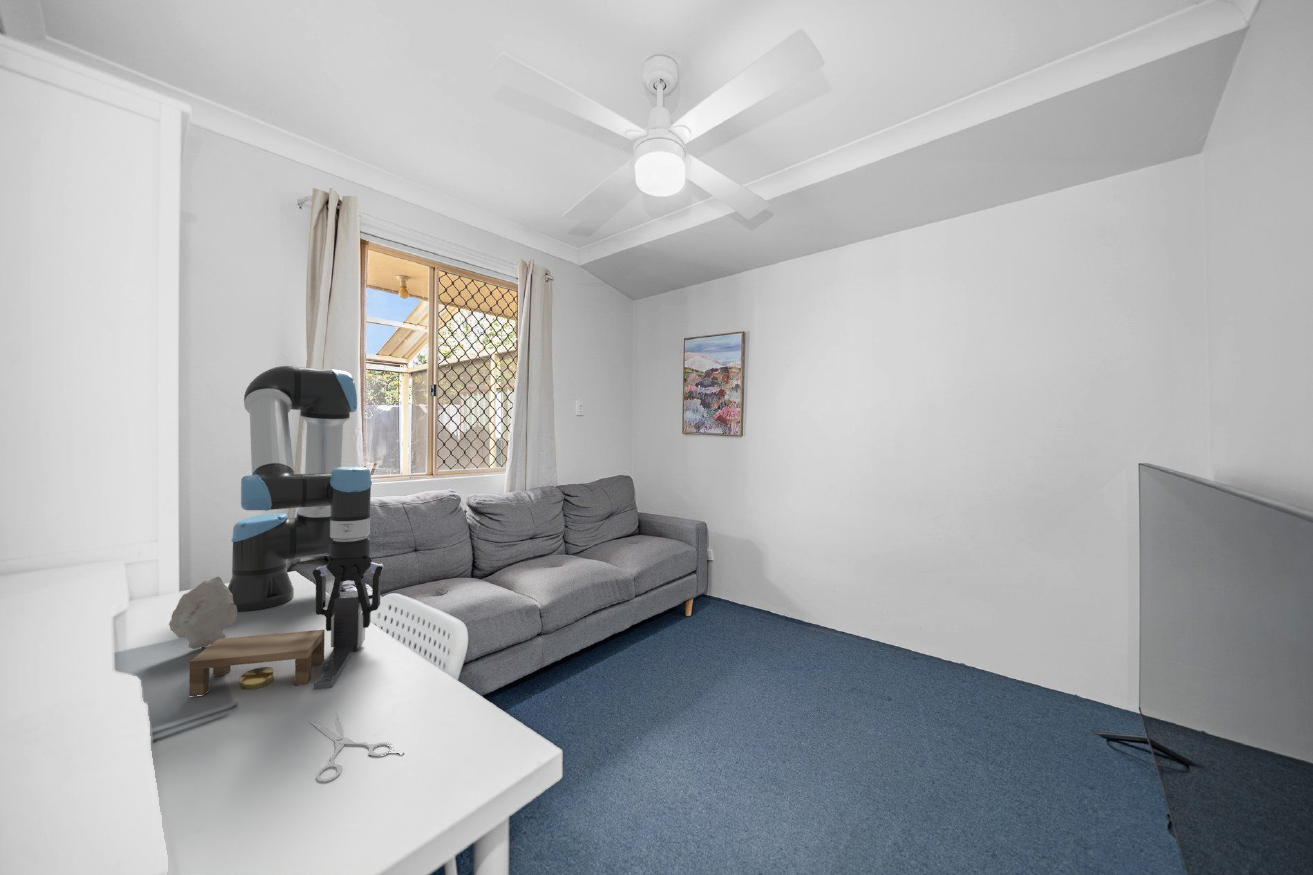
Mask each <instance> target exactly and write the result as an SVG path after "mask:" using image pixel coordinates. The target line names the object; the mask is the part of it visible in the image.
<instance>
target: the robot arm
mask: <svg viewBox="0 0 1313 875" xmlns="http://www.w3.org/2000/svg"><path fill="white" fill-rule="evenodd" d="M357 394H358V393H357V389H356V384H355V381H354V378H353V376H352V374H351V373H350V372H347V371H344V370H338V369H333V368H330V369H329V368H315V367H301V366H300V367H299V366H292V365H282V366H281V365H280V366H277V367H272V368H270V369H267V370H265V371H263V372H262V373H260V374H258V375H257V376H256V377H255V378H254V379H253V380H252V381H250V383H249V384H248V386H247V387H246V389H245V392H244V395H243V396H244V398H243V405H244V409H245V410H246V412H247V413H249V429H250V430H249V431H250V456H251V460H250V461H251V462H250V463H251V475H244V476H243V477H242V478H241V480H240V507H241V509H242V510H245V511H272V510H284V509H287V510H288V509H297V508H299V509H297V511H296V517H289V516H288V514H287V513H285V512H274V513H266V514H261V515H256V516H252V517H248V518H245V519H244V518H243V519H242V520H239V521H238V522H236V523H235V524H234V526H233V529H232V538H231V542H232V557H231V558H232V559H231V560H232V562H231V566H232V567H231V570H232V571H231V578H230V581H229V583H228V585H227V588H228V589H229V590H230V592H231V593H232V594H233V602H234V604H233V605H236V607H237V612H239V611H240V612H241V611H243V612H244V611H254V610H262V609H268V608H271V607H274V606H279V605H282V604H284V603H287V602H289V601H290V600H292V599H293V598H294V594H295V593H294V592H295V591H294V590H295V589H294V586H293V583H292V581H291V577H290V575H289V573H288V570H287V561H290V560H298V559H299V560H300V559H305V558H307V559H308V558H316V557H328V556H329V557H328V558H329V559H328V561H327V562H326V564H325V565H323V566H318V567H317V566H316V568H315V569H314V570H313V571H312V575H313V578H314V580H315V614H316V616H317V615H318V616H319V615H321V616H324V617H325V631H327V632H330V648H333V641H334V598H335V597H337V596H338V595H339V594H340V592H342V588H343V584H344V582H347V581H350V582H354V585H355V587H356V591H357V592H358V595H359V600H360V604H361V608H362V611H361V613H360V614H359V633H358V645H361V646H362V645H363V643H364V641H365V640H366V629H367V628H369V626H370V625H371V613H372V612H374V611H377V610H378V609H379V607H380V605H381V591H382V589H381V588H382V587H381V586H382V573H383V571H384V568H385V564H384V563H382V562H380V563H376V562H373V560H372V559H371V557H370V553H371V552H370V551H371V550H370V548H371V547H370V546H371V545H370V544H371V542H370V541H371V539H370V537H369V535H370V534H371V497H372V496H371V495H372V494H371V493H372V482H373V481H372V476H371V475H372V473H371V470H370V468H368V467H365V466H342V457H343V456H342V455H343V454H342V453H343V432H344V431H343V430H344V424H345V423H346V422H347V421H348V420H349V419H350V415H351V414H350V413H355V412H357V409H358V397H357V396H358V395H357ZM291 410H294V411H295V410H298V411H300V415H299V416H300V418H302V419H303V421H305V422H306V423H305V424H306V436H305V440H306V441H305V463H304V464H305V465H304V466H305V467H304V470H305V471H304V473H295V469H294V460H293V448H292V440H291V439H292V438H291V431H290V430H291V428H290V421H289V420H290V419H289V412H291ZM369 568H370V569H371V574H373V575H372V589H371V592H372V593H371V600H370V597H369V594H368V593H369V592H368V589H367V585H366V582H365V581H366V578H365V574H366V572H367V571H368V569H369ZM328 571H329V572H330V573H331V575H332V576H333V577H334V580H333V584H332V589H331V593H330V597H329V601H328V604H327V600H326V599H327V593H326V592H327V585H326V584H327V582H326V581H327V579H326V578H327V575H328ZM326 604H327V605H326Z"/></svg>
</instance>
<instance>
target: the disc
mask: <svg viewBox="0 0 1313 875" xmlns="http://www.w3.org/2000/svg"><path fill="white" fill-rule="evenodd" d="M274 680H275V669H274V668H273V667H269V666H265V667H257V668H253V669H250V670H248V671H247V670H246V672H244V673H242V674H241V675H240V680H239V687H240V688H239V689H241V690H244V691H249V690H257V689H261V688H264V687H267V686H268V685H270V684H271V683H272V682H274Z"/></svg>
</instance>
